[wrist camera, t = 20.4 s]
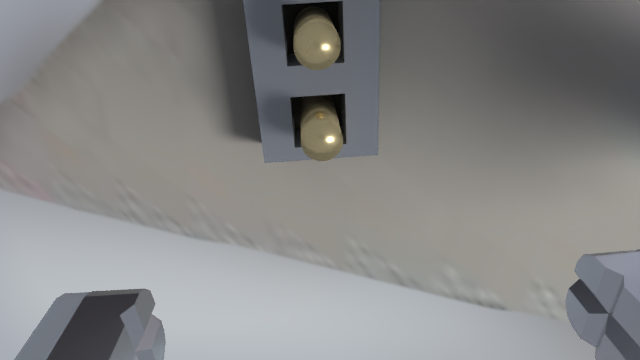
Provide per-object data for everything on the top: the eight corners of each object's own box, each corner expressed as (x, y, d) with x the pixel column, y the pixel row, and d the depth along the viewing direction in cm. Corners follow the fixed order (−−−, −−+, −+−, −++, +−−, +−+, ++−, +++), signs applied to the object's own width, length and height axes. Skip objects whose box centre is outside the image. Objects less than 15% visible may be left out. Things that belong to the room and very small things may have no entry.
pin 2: (334, 88, 38) (342, 120, 31) (335, 121, 39) (343, 159, 33) (298, 91, 38) (299, 123, 31) (301, 124, 39) (302, 162, 32)
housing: (246, -17, 33) (241, -12, 30) (371, -25, 34) (380, -21, 30) (267, 144, 40) (264, 162, 37) (370, 136, 40) (377, 154, 37)
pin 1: (331, 5, 34) (340, 19, 28) (332, 44, 36) (341, 68, 29) (292, 7, 34) (291, 23, 27) (295, 47, 36) (295, 71, 29)
